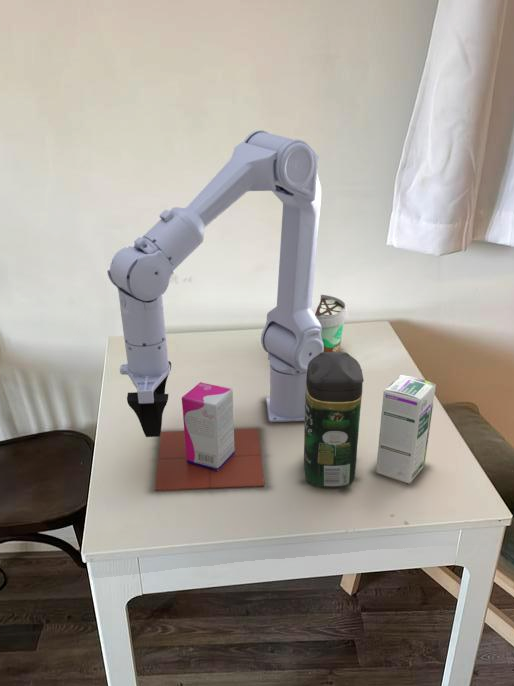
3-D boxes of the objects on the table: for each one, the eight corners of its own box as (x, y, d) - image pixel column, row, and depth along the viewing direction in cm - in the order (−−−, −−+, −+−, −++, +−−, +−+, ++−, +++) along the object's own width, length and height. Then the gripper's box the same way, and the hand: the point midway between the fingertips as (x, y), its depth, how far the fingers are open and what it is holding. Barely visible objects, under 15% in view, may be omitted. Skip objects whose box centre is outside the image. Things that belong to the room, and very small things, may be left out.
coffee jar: (302, 454, 110) (305, 346, 99) (352, 455, 110) (361, 346, 99) (303, 491, 102) (307, 377, 91) (357, 491, 102) (367, 378, 91)
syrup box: (410, 485, 103) (423, 399, 95) (374, 472, 106) (383, 388, 97) (424, 466, 107) (438, 382, 99) (389, 455, 110) (399, 372, 101)
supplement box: (236, 452, 109) (234, 388, 103) (218, 472, 105) (215, 406, 98) (203, 444, 111) (199, 380, 105) (185, 463, 107) (179, 397, 100)
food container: (341, 369, 134) (344, 320, 128) (309, 366, 135) (311, 317, 129) (348, 342, 144) (351, 295, 138) (318, 339, 145) (321, 293, 139)
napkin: (258, 429, 116) (258, 428, 115) (264, 486, 103) (264, 485, 102) (161, 433, 115) (161, 431, 114) (155, 491, 102) (155, 489, 101)
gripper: (121, 317, 102) (132, 399, 110) (110, 362, 90) (122, 449, 98) (169, 316, 102) (176, 397, 110) (164, 360, 90) (173, 447, 98)
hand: (154, 422), depth 104 cm, fingers open, 7 cm apart
